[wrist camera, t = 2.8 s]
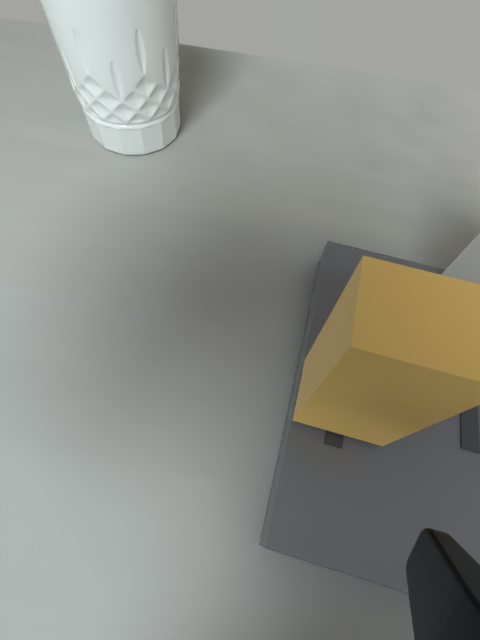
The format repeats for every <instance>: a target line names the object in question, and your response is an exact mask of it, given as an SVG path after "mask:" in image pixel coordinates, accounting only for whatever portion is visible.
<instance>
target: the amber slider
mask: <svg viewBox="0 0 480 640" xmlns="http://www.w3.org/2000/svg"><path fill="white" fill-rule="evenodd" d="M478 405H480V284H476V283H472V282H468V281H464V280H460V279H456V278H452V277H448V276H444V275H440V274H436V273H432V272H428V271H424V270H420V269H416V268H412V267H408V266H404V265H400V264H396V263H392V262H388V261H384V260H380V259H376V258H372V257H368V256H363V257H362V258H361V260H360V262H359V264H358V266H357V267H356V269H355V271H354V273H353V274H352V276H351V278H350V280H349V282H348V283H347V285H346V287H345V289H344V291H343V292H342V294H341V296H340V298H339V299H338V301H337V303H336V305H335V307H334V308H333V310H332V312H331V314H330V316H329V317H328V319H327V321H326V323H325V324H324V326H323V328H322V330H321V332H320V333H319V335H318V337H317V339H316V340H315V342H314V344H313V346H312V348H311V349H310V351H309V353H308V355H307V357H306V358H305V361H304V366H303V371H302V376H301V380H300V385H299V390H298V395H297V400H296V405H295V410H294V415H293V421H296V422H300V423H303V424H306V425H310V426H313V427H317V428H320V429H324V430H327V431H331V432H334V433H338V434H341V435H345V436H348V437H352V438H355V439H359V440H362V441H366V442H369V443H372V444H376V445H379V446H384V445H387V444H389V443H391V442H394V441H396V440H398V439H401V438H403V437H405V436H408V435H410V434H412V433H415V432H417V431H419V430H422V429H424V428H426V427H429V426H431V425H434V424H436V423H438V422H441V421H443V420H445V419H448V418H450V417H452V416H455V415H457V414H459V413H462V412H464V411H466V410H469V409H471V408H473V407H476V406H478Z"/></svg>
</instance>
